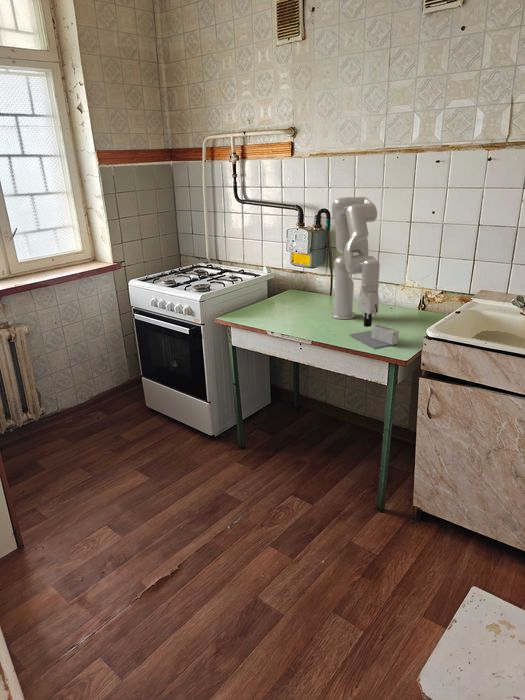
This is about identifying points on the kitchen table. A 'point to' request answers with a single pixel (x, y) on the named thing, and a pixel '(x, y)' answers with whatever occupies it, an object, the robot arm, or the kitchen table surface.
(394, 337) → the skincare box
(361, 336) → the mat
